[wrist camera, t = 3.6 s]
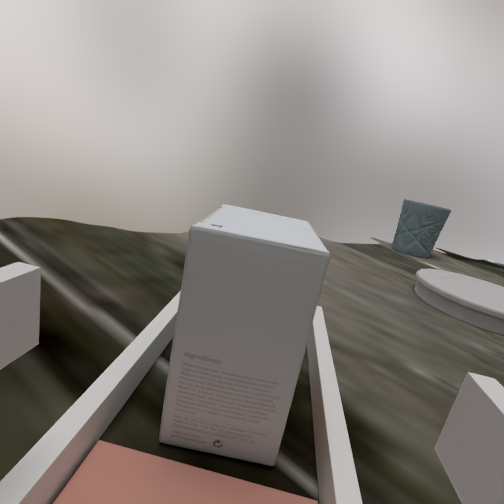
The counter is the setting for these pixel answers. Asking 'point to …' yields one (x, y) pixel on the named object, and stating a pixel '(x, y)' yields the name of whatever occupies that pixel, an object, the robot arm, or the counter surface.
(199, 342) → the small box
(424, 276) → the lid
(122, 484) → the pad
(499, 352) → the counter surface
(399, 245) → the drinking glass
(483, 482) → the robot arm
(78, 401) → the guide channel
